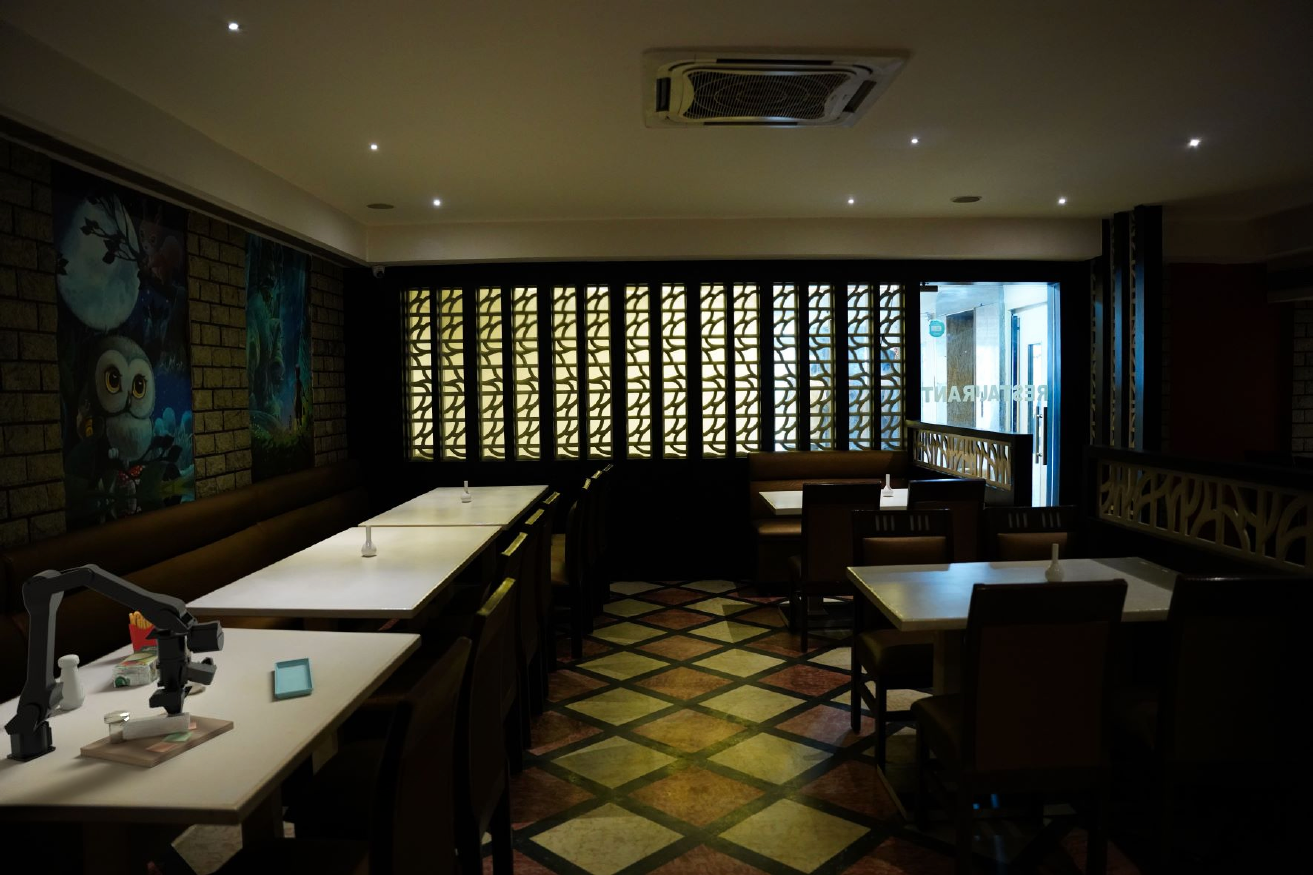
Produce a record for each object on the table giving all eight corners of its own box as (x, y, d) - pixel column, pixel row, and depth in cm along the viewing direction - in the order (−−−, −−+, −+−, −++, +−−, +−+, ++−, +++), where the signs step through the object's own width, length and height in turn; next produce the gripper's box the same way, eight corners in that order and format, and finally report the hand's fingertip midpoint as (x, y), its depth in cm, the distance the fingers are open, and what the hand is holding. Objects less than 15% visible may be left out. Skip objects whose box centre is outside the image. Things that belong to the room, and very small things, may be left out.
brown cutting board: (151, 767, 174) (150, 759, 174) (80, 754, 181) (80, 746, 181) (233, 727, 193) (233, 720, 193) (167, 717, 201) (166, 710, 201)
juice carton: (151, 685, 224) (149, 663, 223) (110, 689, 222) (108, 666, 222) (178, 662, 243) (177, 641, 243) (141, 666, 242) (140, 645, 241)
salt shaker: (71, 712, 206) (67, 660, 205) (51, 710, 207) (47, 659, 206) (91, 703, 211) (87, 652, 211) (72, 702, 213) (68, 652, 212)
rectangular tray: (314, 695, 214) (313, 686, 214) (275, 702, 210) (274, 692, 210) (310, 665, 238) (309, 657, 238) (274, 670, 234) (274, 662, 234)
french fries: (129, 656, 249) (126, 613, 248) (134, 652, 253) (131, 610, 252) (164, 653, 251) (161, 610, 250) (168, 649, 255) (165, 607, 254)
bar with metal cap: (102, 745, 181) (100, 719, 180) (109, 737, 185) (107, 711, 185) (186, 734, 186) (185, 709, 185) (192, 726, 190) (190, 701, 190)
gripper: (203, 664, 182) (209, 733, 183) (219, 638, 199) (224, 701, 201) (145, 671, 178) (151, 741, 180) (166, 644, 196) (171, 709, 197)
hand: (177, 722), depth 189 cm, fingers closed
